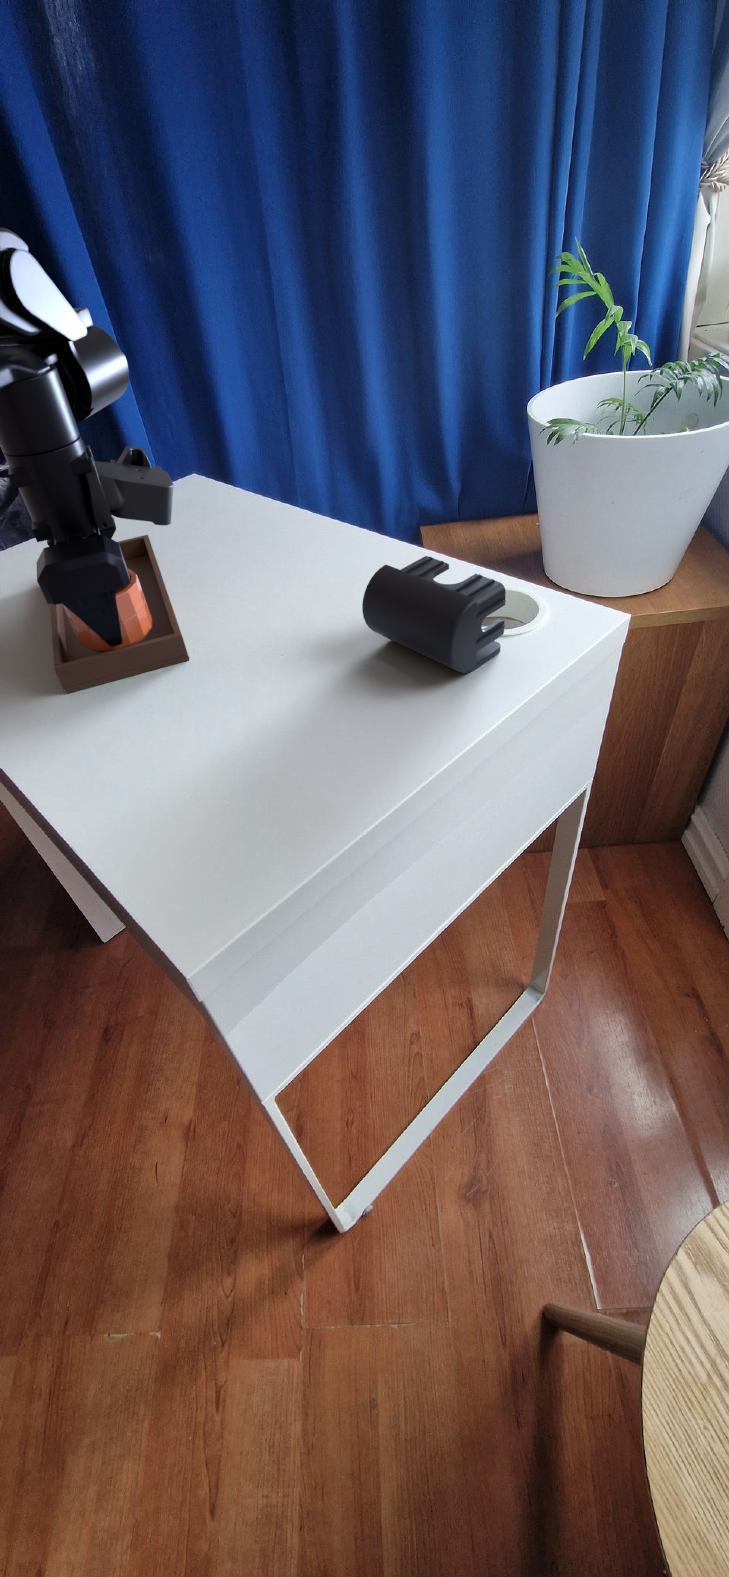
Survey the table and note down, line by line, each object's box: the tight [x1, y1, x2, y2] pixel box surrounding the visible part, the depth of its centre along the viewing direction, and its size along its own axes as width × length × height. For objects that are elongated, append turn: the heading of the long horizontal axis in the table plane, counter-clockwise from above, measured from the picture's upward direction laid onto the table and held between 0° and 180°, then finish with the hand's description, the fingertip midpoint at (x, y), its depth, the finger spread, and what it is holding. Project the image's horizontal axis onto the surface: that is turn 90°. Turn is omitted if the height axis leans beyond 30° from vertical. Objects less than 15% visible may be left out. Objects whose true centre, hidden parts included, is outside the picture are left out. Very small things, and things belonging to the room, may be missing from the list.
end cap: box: [361, 555, 507, 675], centre depth 58 cm, size 10×7×7 cm
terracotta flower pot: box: [62, 569, 152, 653], centre depth 62 cm, size 7×7×5 cm
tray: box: [49, 534, 190, 694], centre depth 70 cm, size 24×11×3 cm, turn 20°
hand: (113, 626), depth 63 cm, fingers closed on terracotta flower pot, 7 cm apart
